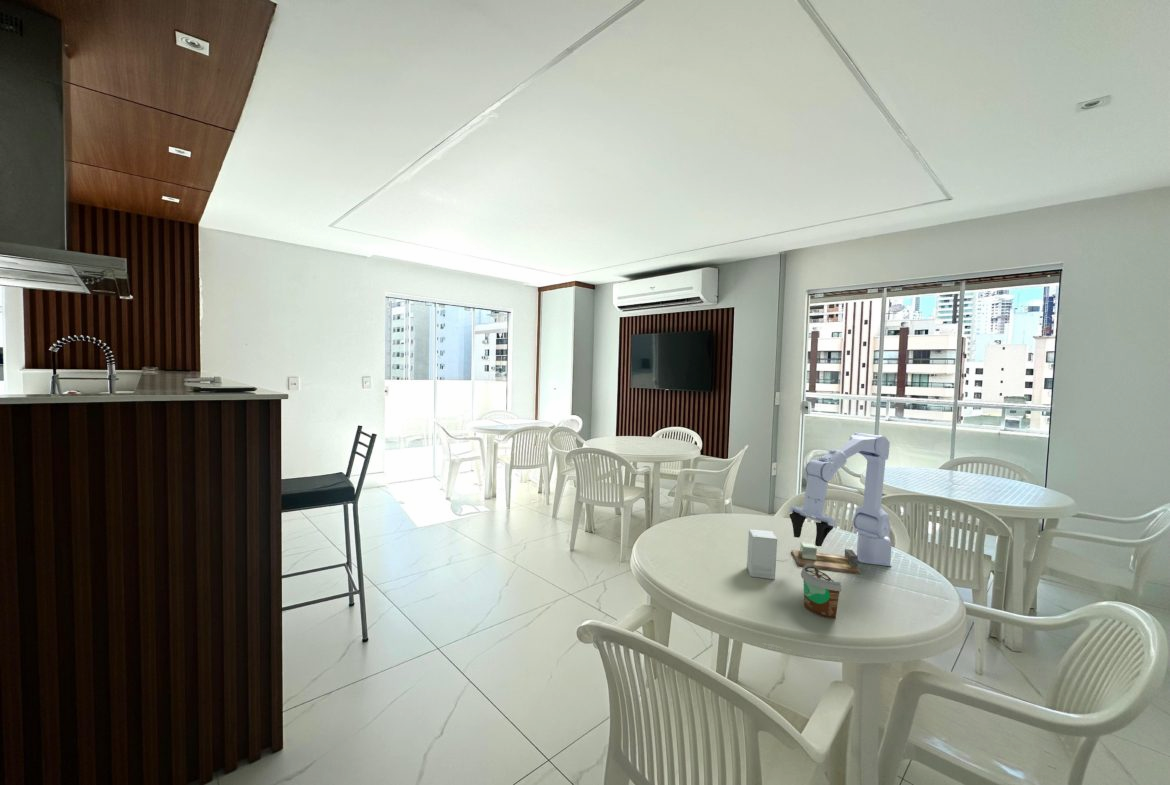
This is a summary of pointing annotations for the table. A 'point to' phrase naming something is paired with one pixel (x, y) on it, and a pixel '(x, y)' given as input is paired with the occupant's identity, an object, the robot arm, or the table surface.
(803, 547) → the block
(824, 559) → the track board
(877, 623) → the table surface
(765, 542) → the supplement box
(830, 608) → the food container
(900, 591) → the table surface
